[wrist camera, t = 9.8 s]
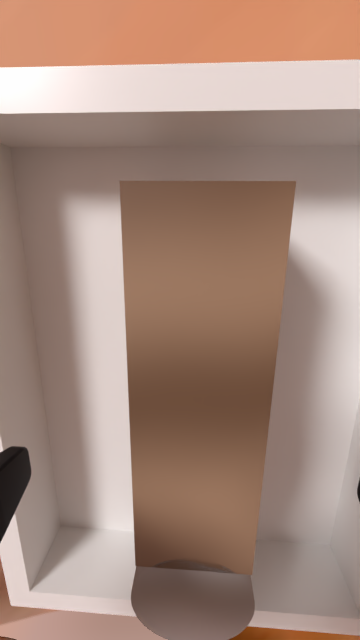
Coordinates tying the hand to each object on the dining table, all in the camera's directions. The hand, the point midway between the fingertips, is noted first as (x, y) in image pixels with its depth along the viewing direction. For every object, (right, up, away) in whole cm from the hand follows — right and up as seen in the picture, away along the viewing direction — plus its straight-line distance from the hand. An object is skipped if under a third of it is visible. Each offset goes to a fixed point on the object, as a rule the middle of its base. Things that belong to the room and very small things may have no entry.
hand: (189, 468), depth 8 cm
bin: (0, +2, +6) cm, 6 cm away
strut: (0, +1, +5) cm, 5 cm away
